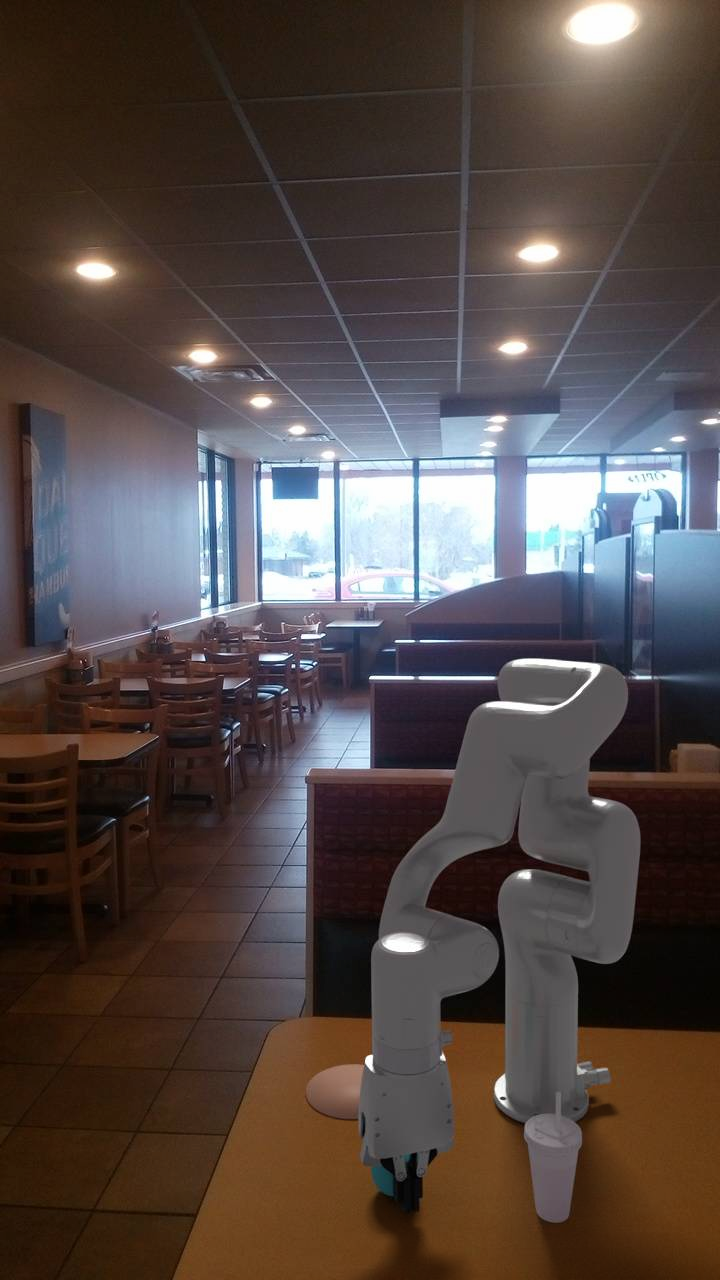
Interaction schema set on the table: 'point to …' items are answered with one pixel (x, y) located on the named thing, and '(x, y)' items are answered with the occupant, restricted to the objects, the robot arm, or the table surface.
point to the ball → (384, 1178)
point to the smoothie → (553, 1162)
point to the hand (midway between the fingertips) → (407, 1204)
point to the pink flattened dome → (336, 1091)
